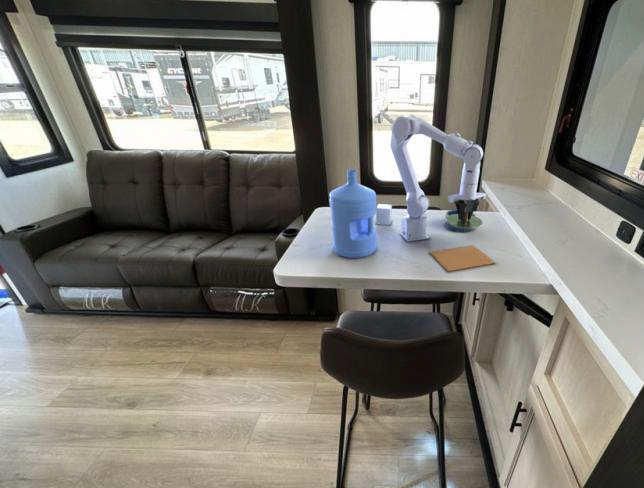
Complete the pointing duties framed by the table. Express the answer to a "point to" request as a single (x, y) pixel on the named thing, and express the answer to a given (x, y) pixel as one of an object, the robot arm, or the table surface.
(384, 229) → the table surface
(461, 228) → the tin
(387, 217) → the product box
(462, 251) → the mat
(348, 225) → the water jug
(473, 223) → the lid
